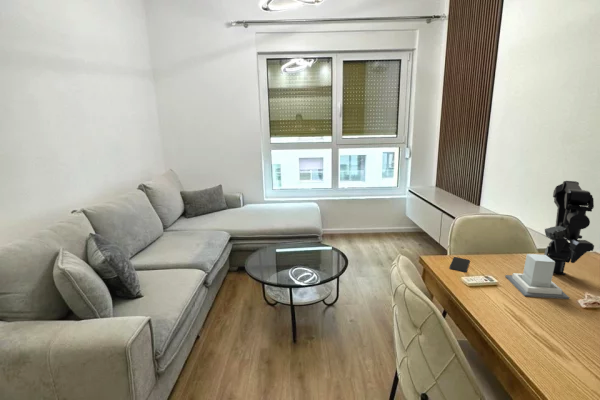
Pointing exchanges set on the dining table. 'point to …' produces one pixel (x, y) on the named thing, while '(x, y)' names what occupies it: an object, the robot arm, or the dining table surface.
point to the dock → (536, 288)
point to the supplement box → (538, 270)
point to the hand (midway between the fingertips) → (564, 257)
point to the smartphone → (459, 264)
